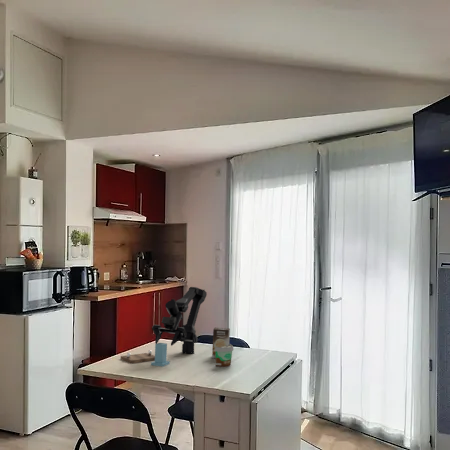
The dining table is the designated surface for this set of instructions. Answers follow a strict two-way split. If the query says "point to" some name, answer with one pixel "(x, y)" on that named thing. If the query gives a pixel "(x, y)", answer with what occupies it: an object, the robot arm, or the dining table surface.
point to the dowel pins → (148, 354)
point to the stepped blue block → (160, 355)
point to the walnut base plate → (138, 358)
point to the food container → (224, 355)
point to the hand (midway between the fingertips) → (163, 344)
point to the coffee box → (220, 338)
